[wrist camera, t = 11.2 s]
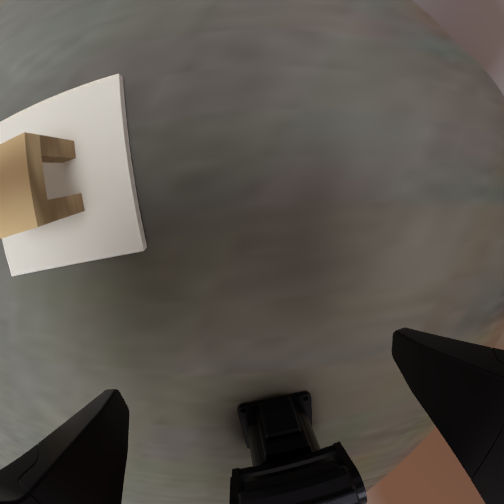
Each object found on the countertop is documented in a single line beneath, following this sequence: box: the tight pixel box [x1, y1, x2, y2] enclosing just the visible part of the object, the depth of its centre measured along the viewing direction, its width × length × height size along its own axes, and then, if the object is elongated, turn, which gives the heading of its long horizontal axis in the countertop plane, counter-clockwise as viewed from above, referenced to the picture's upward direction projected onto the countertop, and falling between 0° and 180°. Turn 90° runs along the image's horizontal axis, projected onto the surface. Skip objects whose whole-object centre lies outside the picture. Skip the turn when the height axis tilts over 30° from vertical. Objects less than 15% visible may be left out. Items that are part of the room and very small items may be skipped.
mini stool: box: [0, 132, 85, 239], centre depth 14 cm, size 5×5×6 cm
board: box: [0, 74, 147, 276], centre depth 17 cm, size 12×12×1 cm
